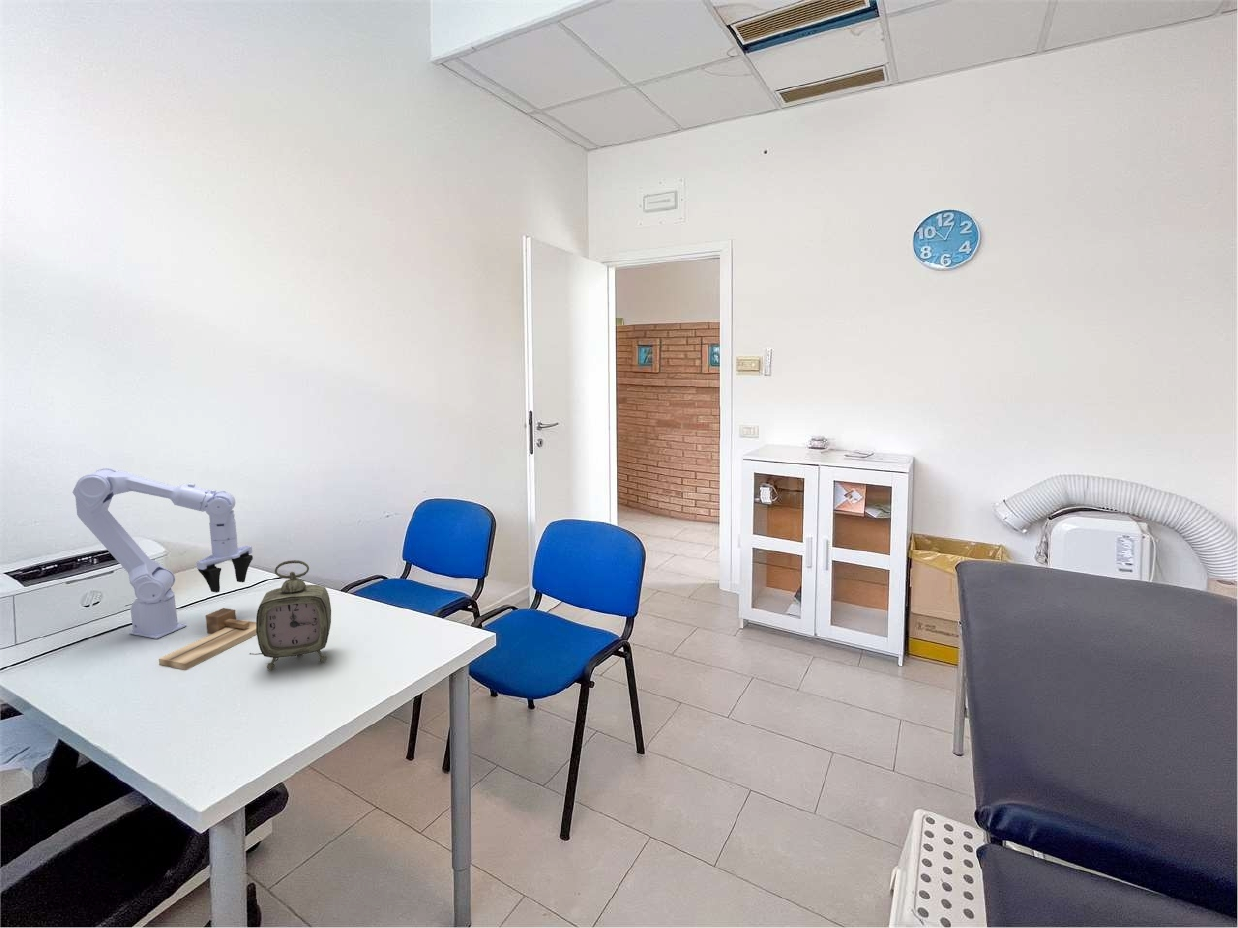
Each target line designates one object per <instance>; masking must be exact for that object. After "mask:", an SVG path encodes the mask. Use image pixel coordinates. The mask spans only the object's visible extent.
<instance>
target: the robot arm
mask: <svg viewBox="0 0 1238 928" xmlns="http://www.w3.org/2000/svg"><path fill="white" fill-rule="evenodd" d="M128 492H134V493H135V492H136V493H139V494H144V495H148V496H154V497H160V498H164V499H165V498H166V499H169V500H170V501H171V503H173V505H174V506H178V507H180V508H186V509H190V510H194V511H198V512H205V513H206V514H207V515H208V516H209V517H208V518H209V534H210V544H211V545H210V546H211V555H209V556H207V557H205V558H203V559H200V560H199V561H197V562H196V568H197V571H198V572H199V574H201V576H202V577H203V578H204V579H205V581H206V583H207V585H208V587H209V589H210V592H211V593H219V592H220V590H221V586H220V584H221V583H220V578H221V577H220V576H221V573H222V567H217V565H218V564H222V563H225V562H227V561H232V564H233V567H234V574H235V579H236V582H238V583H245V582H246V577H247V574H248V573H247V572H248V569H249V567H250V564H251V562H252V561H253V559H254V558H253V556H254V555H252V554H253V546H251V545H245V546H241V547H238V546H239V545H238V537H237V536H238V535H237V534H238V533H237V523H236V519H235V515H236V514H235V511H234V510H233V509H234V508H235V507H236V499H235V497H234V496H233V494H231V493H229V492H227V491H225V490H221V491H217V490H216V489H211V490H209V489H206V488H203V487H198V486H196V484H195V483H192V482H189V483H188V484H185V483H182V484H179V485H177V486H175V485H171V484H168V483H165V482H161V481H157V480H155V479H151V478H147V477H144V476H140V475H137V474H134V473H130V472H128V471H123V470H115V469H113V468H107V467H106V468H104V467H103V468H100V469H98V470H97V469H96V471H94V472H92V473H90V474H85V475H83V476H82V477H80V478H79V479H78V480H77V481H76V484H75V486H74V488H73V490H72V493H73V495H74V497H75V506H76V507H75V509H76V515H77V517H78V519H79V520H80V521H82V523H83V524H84V526H86V527H87V528H88V529H89V531H90V532H91V533H92V534H93V535H94V536H95V538H97V541H99V542H100V543H101V544H102V546H103V547H105V549H106V550H107V551H108V553H110V555H112V557H113V558H114V559H115V560H116V561H117V562H118V563H119V564H120V565H121V567H122V568H123V569H124V570H125V571H126V573H128V574H127V575H128V581H129V584H130V585H131V586H132V588H133V590H134V595H135V597H136V599H135V600H134V601H133V602H132V604H131V607H130V615H131V624H132V630H130V631H129V635H136V636H140V637H146V638H151V639H160V638H162V637H164V636H167V635H168V634H171V633H173V632H175V631H178V630H180V629H182V628H185V627H187V624H186V623H182V622H178V614H177V605H176V597H175V592H174V591H173V589H172V587H173V586H174V584H175V582H176V576H175V574H174V572H173V571H172V570H170V569H168V568H165V567H164V566H163V565H161V564H160V562H158V561H155V560H152V559H151V558H150V557H149V556H148V555H147V554H146V552H145V551H144V550H143V549H142V548H141V547H140V545H139V544H138V543H137V542H136V541H135V539H134V538H133V537H132V536H131V535H130V534H129V533H128V532H127V530H125V528H124V527H123V526H122V525H121V524H120V523H119V521H118V520H117V519H116V517H114V515H113V514H112V513H111V512H110V511H109V507H110V506H111V505H110V504H111V503H112V502H111V501H112V499H113V497H114V496H116V495H118V494H119V495H121V494H124V493H128Z"/></svg>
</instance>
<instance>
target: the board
mask: <svg viewBox="0 0 1238 928" xmlns="http://www.w3.org/2000/svg"><path fill="white" fill-rule="evenodd" d="M240 620H241V619H240ZM241 621H246V622H249V625H250V626H249V627H247V628H245V629H242V628H236V627H231V626H228V627H226V628H224V629H222V630H220V631H217V632H215V633H213V634H209V635H207V636H205V637H202V638H200V639H198V640H196V641H194V642H191V643H190V644H187V645H185V646H183V647H181V648H179V649H177V650H174V651H171V653H170V652H169V653H167V654H165V655H164V656H161V657H160V658H158V665H160V666H165V667H170V668H174V669H179V670H185V671H187V670H188V669H191V668H193V667H195V666H197V665H198V664H200V663H203V662H205V661H207V660H208V659H210V658H211V659H212V657H215V656H216V655H219V654H221V653H222V652H224V651H227V650H228V649H230V648H232V647H234V646H237V645H239V644H240V643H243V642H244V641H247V640H249V639H250V638H252V637H255V636H257V633H256V621H252V620H245V619H242V620H241Z"/></svg>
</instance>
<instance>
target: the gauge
mask: <svg viewBox="0 0 1238 928" xmlns="http://www.w3.org/2000/svg"><path fill="white" fill-rule="evenodd" d="M236 615H237V614H236V609H232V608H226V607H222V608H220V609H218V610H215V611H212V612H210V613H208V614H206V615H205V623H206V624H205V625H206V633H207V634H209V635H211V634H213V633H215V632H217V631H220V630H222V629H224V628H226V627H228V626H231V627H236V628H242V629H245V628H247V627H249V626H250V625H249V622H246V621H247V620H246V621H241V619H240V620H239V619H237V616H236Z"/></svg>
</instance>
